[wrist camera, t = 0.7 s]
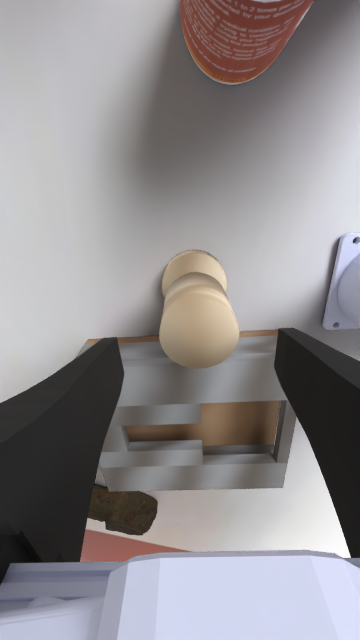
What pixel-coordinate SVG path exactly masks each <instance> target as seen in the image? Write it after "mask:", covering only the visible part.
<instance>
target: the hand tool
mask: <svg viewBox="0 0 360 640" xmlns="http://www.w3.org/2000/svg"><path fill="white" fill-rule="evenodd" d="M157 505H158V502H157V500H156V499H154V498H153V497H151V496H149V495H147V494H145V493H143V492H139V491H114V492H109V490H108V488H106V487H100V486H96V485H94V487H93V492H92V496H91V501H90V507H89V512H88V517H87V518H90V519H94V520H98V521H100V522H103V521H105V523H106V529H107V530H111V531H118V532H122V533H126V534H129V535H143V533H145V532H147V531H148V530H149V529H150V527H151V525H152V523H153V521H154V519H155V518H156V514H157Z"/></svg>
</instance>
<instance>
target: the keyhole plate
mask: <svg viewBox="0 0 360 640" xmlns="http://www.w3.org/2000/svg"><path fill="white" fill-rule="evenodd" d="M277 336H278V330H261V331H242V332H239V340H238V344H237V346H236V348H235V350H234V351H233V353H232V354H231V355H230V356H229V357H228V358H227V359H226V360H224V361H223V362H221V363H220V364H218V365H215V366H212V367H209V368H202V369H194V368H188V367H184V366H182V365H179V364H177V363H176V362H174V361H173V360H171V359H170V358H169V357H168V356H167V355H166V353H165V352H164V350H163V348H162V346H161V344H160V339H159V336H144V337H124V338H117V340H118V345H119V350H120V355H121V359H122V364H123V369H124V379H123V385H122V389H121V394H120V397H119V400H118V403H117V406H116V409H115V412H114V414H113V417H112V420H111V423H110V426H109V429H108V432H107V435H106V437H105V441H104V444H103V447H102V451H101V456H100V460H99V463H100V466H101V469H102V472H103V475H104V478H105V481H106V484H107V487H108V490H109V492H114V491H160V490H207V489H253V488H283V484H284V479H285V473H286V468H287V463H288V458H289V453H290V447H291V442H292V437H293V432H294V427H295V421H296V414H295V412H294V410H293V408H292V407H291V405H290V403H289V401H288V399H287V397H286V395H285V393H284V391H283V389H282V387H281V385H280V383H279V380H278V377H277V374H276V371H275V368H274V361H275V353H276V345H277ZM100 340H101V339H88V341H87V342H86V344H85V345H84V347H83V348H82V350H81V351H80V353H79V354H78V356H80V355H81V354H82V353H84V352H85V351H86V350H88V349H89V348H90V347H91V346H93V345H94V344H95V343H97V342H98V341H100ZM78 356H77V357H78ZM77 357H76V358H77ZM280 400H281V407H280V413H279V420H278V427H277V433H276V440H275V446H274V439H275V432H276V426H277V419H278V412H279V405H280Z"/></svg>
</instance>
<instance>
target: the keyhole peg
mask: <svg viewBox="0 0 360 640" xmlns="http://www.w3.org/2000/svg"><path fill="white" fill-rule="evenodd" d="M226 290H227V279H226V275H225V273H224V271H223V269H222V267H221V265H220V263H219V262H218V260H217V259H216V258H215V257H213V256H212V255H211V254H209V253H207V252H204V251H201V250H188V251H184V252H182V253H180V254H178V255H176V256H175V257H174V258H173V259H172V260H171V261H170V262H169V263H168V265H167V267H166V269H165V271H164V275H163V279H162V292H163V296H164V298H165V304H164V309H163V314H162V320H161V325H160V331H159V339H160V344H161V346H162V348H163V350H164V352H165V353H166V355H167V356H168V357H169V358H170V359H171V360H173V361H174V362H176V363H177V364H179V365H182V366H184V367H188V368H194V369H202V368H209V367H212V366H215V365H218V364H220V363H221V362H223V361H224V360H226V359H227V358H228V357H229V356H230V355H231V354H232V353H233V351H234V350H235V348H236V346H237V344H238V340H239V326H238V323H237V320H236V318H235V315H234V313H233V310H232V308H231V305H230V303H229V300H228V298H227V296H226Z"/></svg>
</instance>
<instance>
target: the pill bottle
mask: <svg viewBox="0 0 360 640" xmlns="http://www.w3.org/2000/svg"><path fill="white" fill-rule="evenodd" d="M314 1H315V0H180V14H181V24H182V30H183V35H184V38H185V42H186V45H187V47H188V50H189V52H190V54H191V56H192V58H193V60H194V62H195V63H196V64H197V66H198V67H199V68H200V69H201V70H202V72H203V73H205V74H206V75H207V76H208V77H210V78H211V79H213V80H215V81H217V82H219V83H222V84H228V85H236V84H242V83H245V82H248V81H250V80H252V79H254V78H256V77H257V76H259V75H260V74H262V73H263V72H264V71H265V70H266V69H267V68H268V67H269V66H270V65H271V64H272V63H273V62H274V61H275V59H276V58H277V57H278V56H279V54H280V53H281V51H282V50H283V48H284V47H285V45H286V44H287V42H288V41H289V39H290V38H291V36H292V35H293V33H294V31H295V30H296V29H297V27H298V25H299V24H300V22H301V21H302V19H303V18H304V16H305V15H306V14H307V11H308V10H309V8H310V7H311V5H312V4H313V2H314Z"/></svg>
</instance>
